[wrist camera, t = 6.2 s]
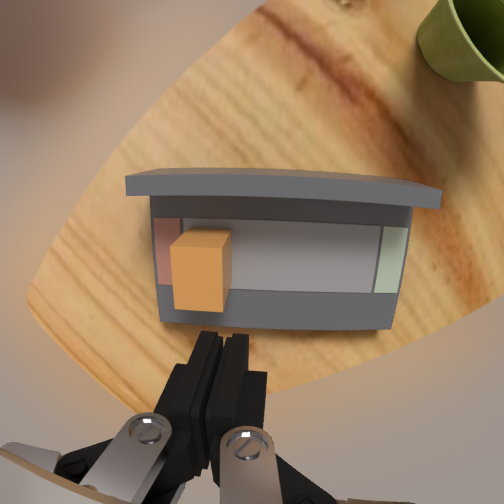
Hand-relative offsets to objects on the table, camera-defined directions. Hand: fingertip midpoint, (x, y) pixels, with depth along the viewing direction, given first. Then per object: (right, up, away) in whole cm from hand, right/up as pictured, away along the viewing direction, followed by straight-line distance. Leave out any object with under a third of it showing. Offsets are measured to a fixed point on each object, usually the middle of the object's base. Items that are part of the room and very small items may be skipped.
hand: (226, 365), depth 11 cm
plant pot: (+17, +21, +7) cm, 28 cm away
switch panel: (+3, +4, +14) cm, 15 cm away
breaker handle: (-2, +4, +12) cm, 12 cm away
